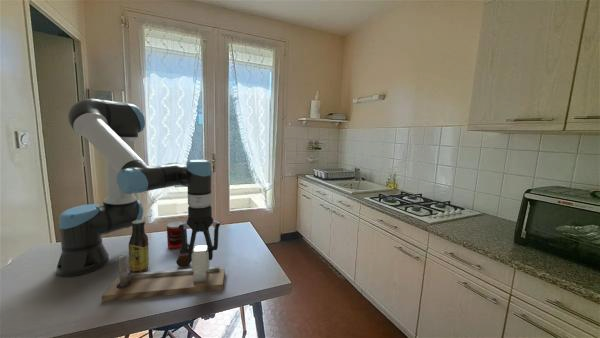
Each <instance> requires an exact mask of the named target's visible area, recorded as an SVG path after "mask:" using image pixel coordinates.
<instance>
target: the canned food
mask: <svg viewBox="0 0 600 338" xmlns="http://www.w3.org/2000/svg"><path fill="white" fill-rule="evenodd" d="M182 222H183V223H184V222H185V221H180V220H178V221H171V222H169V223H167V224H166V238H167V242H166V243H167V247H168V249H169V250H172V251H174V250H175V251H176V250H181V248H182V239H181V231H180V229H179V225H180V224H181V223H182Z"/></svg>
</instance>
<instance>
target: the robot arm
mask: <svg viewBox="0 0 600 338" xmlns="http://www.w3.org/2000/svg"><path fill="white" fill-rule="evenodd" d="M67 116H68V117H67V120H68V123H69V125H70V128H71V129H72V130H73V131H74V132H75V133H76V134H78V136H81V137H84V138H85V139H86V140H88V142H89V143H90V144H91V146H93V147H94V148H95V150H96V151H97V152H98V153H99V154H100V155H101V156H102V158H103V159H105V160H106V161H107V196H106V197H104V199H103V201H102V202H103V203H102V205H101V206H100V205H99V204H97V203H89V204H88V203H87V204H81V205H77V206H74V207H70V208H69V209H66V210H64V211H63V212H61V214H59V218H58V222H59V223H58V228H59V234H60V235H59V236H60V244H61V245H60V246H61V254H60V257H59V259H58V262H57V264H56V265H57V266H56V273H57V275H58V276H60V277H76V276H81V275H85V274H90V273H92V272H95V271H97V270H100V269H101V268H104V267H105V266H106V265H107V264H108V263H109V262H110V256H109V253H108V251H107V249H106V248H105V246H104V244H103V238H102V237H103V236H105V235H108V234H111V233H113V232H118V231H121V230H124V229H129V228H131V227H132V222H133V221H136V220H143V215H144V208H143V204H142V202H141V201H140V200H139V199H138V198H137V196H135V195H134V194H140V193H145V192H149V191H153V190H159V189H164V188H171V187H177V186H180V187H181V186H182V187H187V205H188V207H187V216H188V217H187V218H188V219H187V220H186V221H182V223H181V224H180V225H179V229H180V231H181V239H182V251H183V252H187V253H188V259H189V262H191V269H192V271H194V257H193V251H194V249H195V242H196V238H197V234H198V233H199V232H200V233H202V234H203V235H204V241H205V243H206V245H207V248H208V249H207V252H206V270H209V267H211V264H210V262H211V261H212V260H213V257H214V251H218V247H219V233H220V232H219V230H220V229H219V228H220V226H221V221H220V220H214V218H213V215H212V214H213V213H212V207H213V205H212V199H213V198H212V197H213V196H212V174H213V172H212V165H211V162H210V160H207V159H190V160H188V161H187V162H186V164H183V163H179V162H168V163H164V164H162V165H154V166H153V165H151V166H149V165H148V164H147V163H146V162H145V161H144V160H143V159H142V158H141V157H140V156H139V155H138V154H137V153H136V152H135V151H134V141H135V140H136V139H138V137H139V133H142V132H143V131H144V129H145V127H146V120H145V116H144V114H143V111H142V110H141V109H140V107H138V106H137V105H135V104H133V103H128V102H121V101H112V100H106V99H98V98H86V99H85V98H84V99H81V100H79V101H77V102H75V103H74V104H73V105H72V106H71V107H70V109H69V111H68V115H67ZM183 222H184V223H183ZM211 226H213V228H214V230H213V243H212V239H211V234H210V227H211ZM188 227H189V228H190V229H191V236H190V240H189V243H188V233H187V232H188V231H187V228H188ZM188 244H189V247H188Z"/></svg>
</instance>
